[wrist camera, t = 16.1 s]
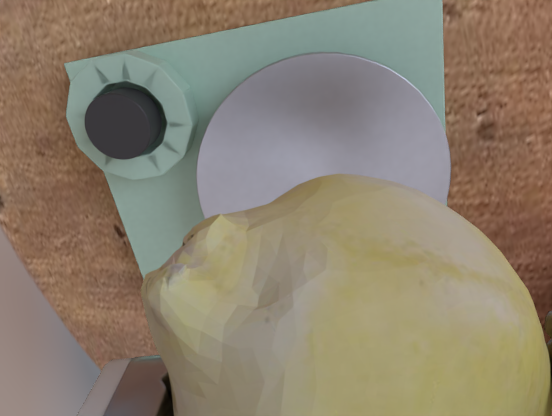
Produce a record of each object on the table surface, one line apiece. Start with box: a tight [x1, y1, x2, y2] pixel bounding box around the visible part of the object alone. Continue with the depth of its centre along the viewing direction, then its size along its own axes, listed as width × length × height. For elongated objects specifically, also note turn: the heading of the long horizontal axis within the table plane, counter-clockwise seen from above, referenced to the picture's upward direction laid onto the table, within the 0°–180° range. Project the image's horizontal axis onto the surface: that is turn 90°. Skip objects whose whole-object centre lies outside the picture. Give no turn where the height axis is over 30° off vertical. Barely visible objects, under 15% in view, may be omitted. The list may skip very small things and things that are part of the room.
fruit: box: [140, 173, 552, 416], centre depth 8 cm, size 6×6×10 cm
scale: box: [64, 0, 447, 279], centre depth 22 cm, size 18×14×3 cm
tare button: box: [84, 87, 162, 160], centre depth 20 cm, size 3×3×2 cm
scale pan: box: [196, 52, 451, 219], centre depth 21 cm, size 12×12×1 cm
